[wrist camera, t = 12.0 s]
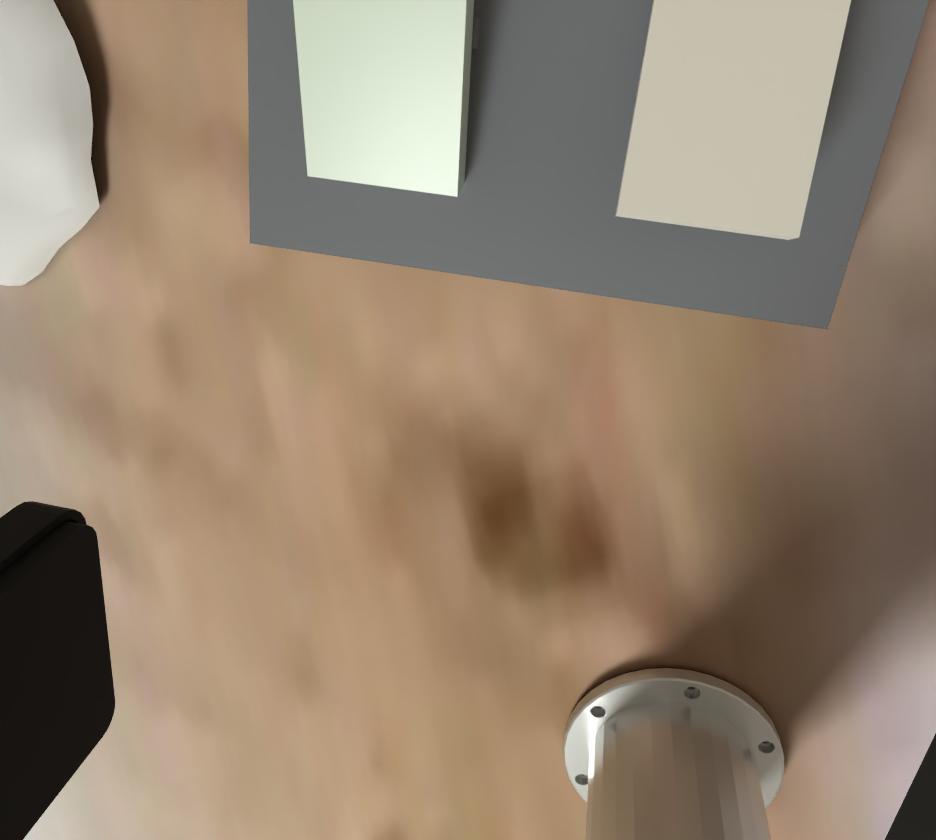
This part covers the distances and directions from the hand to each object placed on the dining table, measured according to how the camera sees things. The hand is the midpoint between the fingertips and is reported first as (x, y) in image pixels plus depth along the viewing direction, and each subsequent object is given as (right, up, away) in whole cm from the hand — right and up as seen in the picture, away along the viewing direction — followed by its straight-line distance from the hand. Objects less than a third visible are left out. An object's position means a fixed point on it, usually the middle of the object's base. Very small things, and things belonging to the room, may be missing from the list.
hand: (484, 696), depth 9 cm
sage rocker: (-3, +17, +19) cm, 26 cm away
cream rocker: (+9, +15, +18) cm, 25 cm away
